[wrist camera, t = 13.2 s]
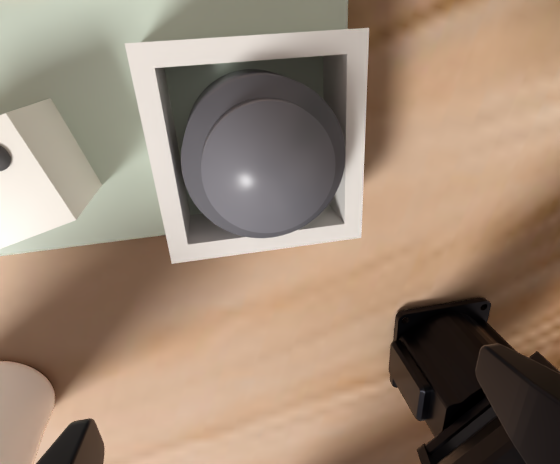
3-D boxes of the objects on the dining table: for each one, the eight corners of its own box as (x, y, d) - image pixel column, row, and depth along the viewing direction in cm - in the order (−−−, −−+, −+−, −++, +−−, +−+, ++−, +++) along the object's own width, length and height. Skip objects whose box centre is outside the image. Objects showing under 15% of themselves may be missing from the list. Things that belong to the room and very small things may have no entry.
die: (50, 98, 16) (4, 113, 12) (102, 185, 18) (75, 221, 14) (-42, 132, 16) (-117, 158, 12) (19, 216, 17) (-29, 260, 14)
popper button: (316, 63, 17) (357, 70, 12) (318, 194, 19) (352, 238, 15) (174, 74, 16) (163, 85, 11) (197, 209, 18) (194, 260, 14)
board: (343, -202, 14) (391, -288, 10) (340, 206, 21) (367, 238, 17) (-230, -212, 12) (-421, -325, 8) (-17, 251, 19) (-69, 299, 15)
